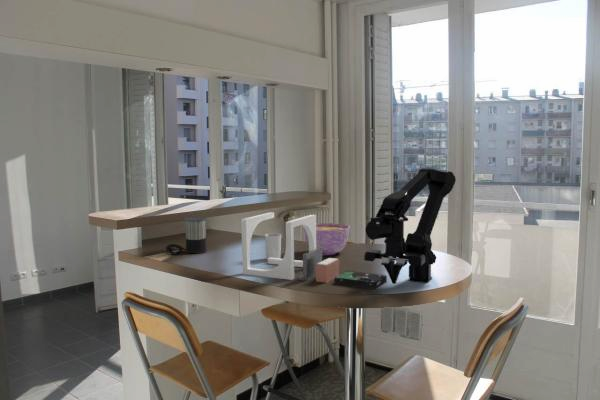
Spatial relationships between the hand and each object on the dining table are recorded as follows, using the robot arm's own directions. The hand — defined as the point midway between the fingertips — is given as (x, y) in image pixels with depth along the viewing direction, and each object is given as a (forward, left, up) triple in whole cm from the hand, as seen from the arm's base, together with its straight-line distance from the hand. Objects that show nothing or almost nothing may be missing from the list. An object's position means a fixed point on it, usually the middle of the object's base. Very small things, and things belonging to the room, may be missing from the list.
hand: (394, 283), depth 164 cm
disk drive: (+12, 0, -2) cm, 12 cm away
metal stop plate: (+30, 0, -1) cm, 30 cm away
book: (+24, 0, -1) cm, 24 cm away
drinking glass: (+57, -18, -1) cm, 59 cm away
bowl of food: (+42, -37, -1) cm, 56 cm away
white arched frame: (+44, -3, -1) cm, 44 cm away
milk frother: (+98, -13, -1) cm, 99 cm away
